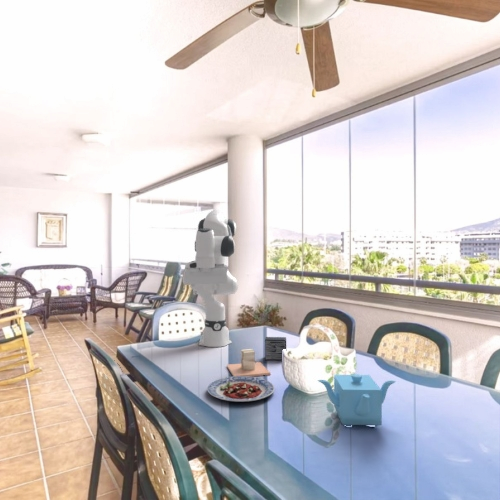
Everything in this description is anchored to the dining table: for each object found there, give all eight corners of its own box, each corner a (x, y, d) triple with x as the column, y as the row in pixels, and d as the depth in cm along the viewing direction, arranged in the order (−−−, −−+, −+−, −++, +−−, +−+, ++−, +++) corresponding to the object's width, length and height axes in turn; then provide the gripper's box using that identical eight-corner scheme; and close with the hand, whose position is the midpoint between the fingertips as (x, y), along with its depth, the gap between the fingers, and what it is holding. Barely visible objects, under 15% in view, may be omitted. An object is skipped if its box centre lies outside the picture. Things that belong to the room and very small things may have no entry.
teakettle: (347, 404, 139) (347, 363, 139) (398, 421, 125) (398, 375, 125) (315, 421, 126) (315, 375, 126) (368, 442, 112) (368, 391, 112)
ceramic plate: (288, 392, 151) (288, 384, 151) (241, 413, 132) (241, 404, 132) (240, 377, 168) (240, 370, 168) (193, 393, 150) (193, 385, 150)
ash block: (241, 367, 178) (241, 349, 177) (251, 366, 179) (251, 349, 179) (243, 370, 173) (243, 352, 173) (254, 369, 174) (254, 351, 174)
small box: (286, 357, 197) (286, 336, 196) (286, 361, 190) (286, 339, 190) (265, 356, 198) (265, 336, 197) (264, 360, 191) (264, 339, 191)
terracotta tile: (226, 366, 181) (226, 364, 181) (259, 364, 185) (259, 361, 185) (234, 378, 166) (234, 375, 166) (270, 374, 170) (270, 372, 170)
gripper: (226, 263, 184) (226, 292, 184) (182, 263, 178) (182, 294, 179) (229, 263, 178) (229, 294, 178) (183, 264, 172) (183, 295, 173)
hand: (205, 294), depth 178 cm, fingers open, 8 cm apart
